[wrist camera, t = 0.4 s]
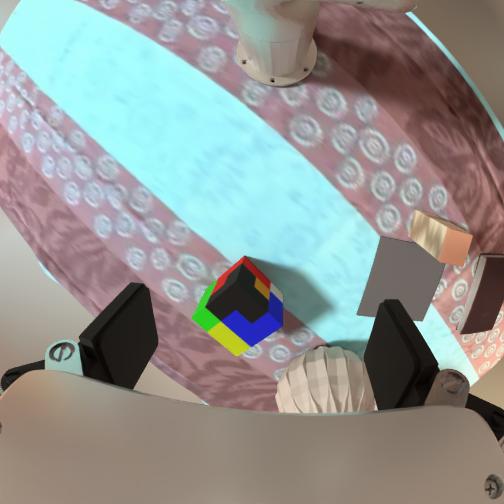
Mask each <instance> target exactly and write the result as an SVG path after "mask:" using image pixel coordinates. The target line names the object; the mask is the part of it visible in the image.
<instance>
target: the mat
mask: <svg viewBox="0 0 504 504" xmlns="http://www.w3.org/2000/svg"><path fill="white" fill-rule="evenodd" d="M444 266H445V263H441V262H439V261H438V260H437V259H436V258H434V257H433V256H432V255H431V254H430V253H428V252H427V251H426V250H425V249H424V248H422V247H421V246H420V245H419V244H416V243H412V242H407V241H402V240H397V239H393V238H388V237H383V236H381V237H380V241H379V245H378V248H377V252H376V255H375V259H374V262H373V266H372V269H371V272H370V275H369V279H368V282H367V285H366V288H365V291H364V294H363V297H362V300H361V303H360V306H359V308H358V311H357V314H356V315H359V316H368V317H376V314H377V311H378V307H379V304H380V303H383V301H384V300H385V299H398V300H400V302H401V303H402V305H403V306H404V308H405V310H406V311H407V313H408V314H409V316H410V317H411V319H412V320H413V321H423V318H424V316H425V314H426V312H427V309H428V307H429V305H430V302H431V300H432V298H433V295H434V293H435V290H436V288H437V285H438V283H439V280H440V277H441V274H442V272H443V269H444Z"/></svg>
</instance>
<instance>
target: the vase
mask: <svg viewBox="0 0 504 504" xmlns="http://www.w3.org/2000/svg"><path fill="white" fill-rule="evenodd" d="M277 391H278V392H277V394H276V396H275V397H276V402H277V405H278V408H279V410H280V412H284V413H345V412H363V411H374V399H373V398H374V393H373V390H372V386H371V383H370V380H369V376H368V373H367V369H366V366H365V363H364V362H363V361H362V360H361V359H360V358H359V357H358V356H357V355H356V354H355V353H354V352H353V351H351V350H343V349H342V348H341V347H340V346H339V347H338V346H333V347H330V348H328V347H326V346H320V347H318V348H317V349H316V350H315V349H309V350H308V351H305V353H304V354H303V355H299V356H297V357H295V358H294V359H293V360H292V361H291V364H290V365H289V366H287V367H286V369H285V370H284V372H283V373H282V375H281V377H280V380H279V382H278V385H277Z"/></svg>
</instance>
